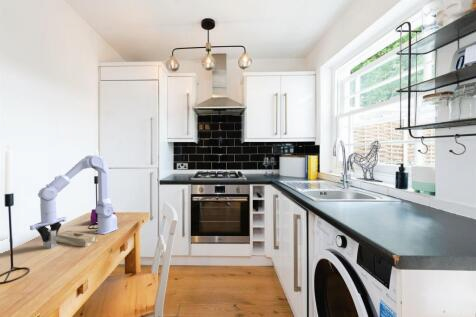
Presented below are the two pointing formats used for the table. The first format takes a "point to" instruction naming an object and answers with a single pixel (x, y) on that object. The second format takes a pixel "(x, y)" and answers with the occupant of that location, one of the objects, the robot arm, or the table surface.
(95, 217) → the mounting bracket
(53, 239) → the rectangular metal block
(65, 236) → the post beam
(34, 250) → the table surface
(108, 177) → the robot arm
